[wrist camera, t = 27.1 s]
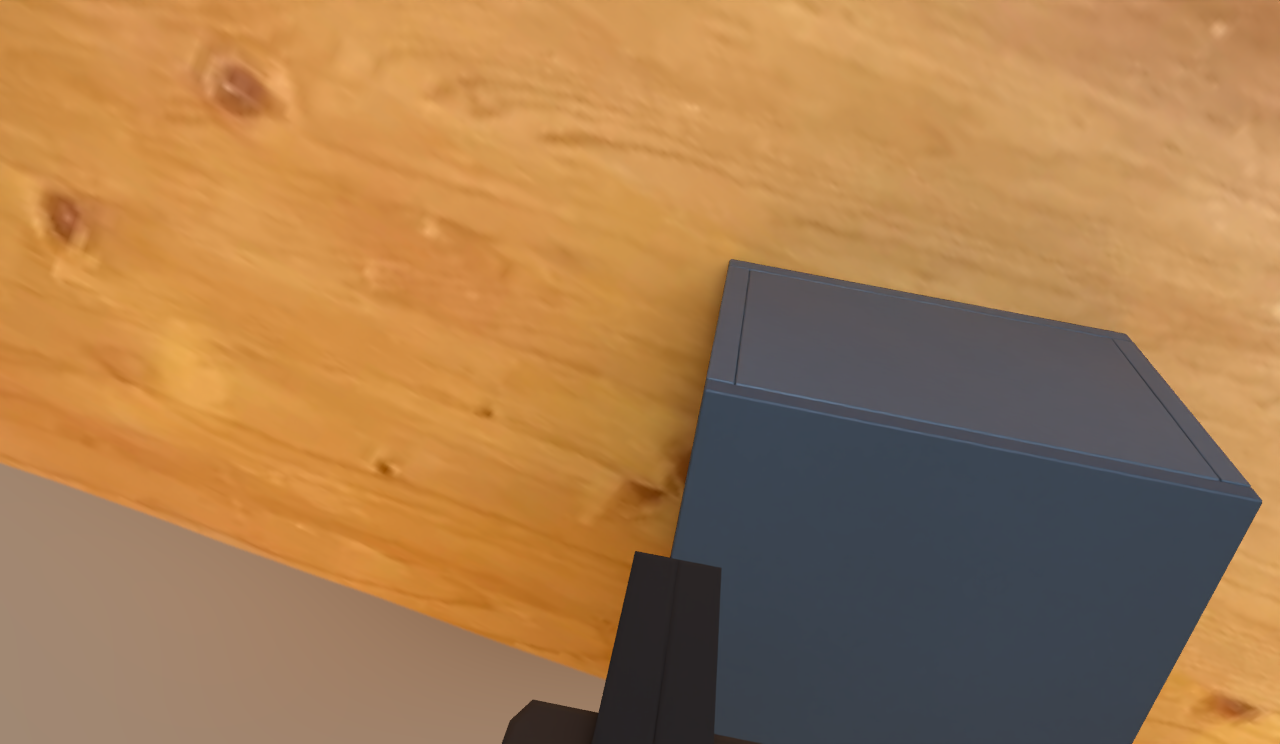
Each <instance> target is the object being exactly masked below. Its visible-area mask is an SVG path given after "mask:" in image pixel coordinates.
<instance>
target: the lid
mask: <svg viewBox="0 0 1280 744" xmlns="http://www.w3.org/2000/svg"><path fill="white" fill-rule="evenodd" d="M1261 504H1262V500H1261V498H1260V497H1259V496H1258V495H1257V494H1256V492H1255V491H1254V490H1253V489H1252V488H1250V487H1245V486H1240V485H1235V484H1230V483H1225V482H1220V481H1215V480H1210V479H1205V478H1200V477H1195V476H1190V475H1185V474H1180V473H1175V472H1170V471H1165V470H1160V469H1155V468H1150V467H1145V466H1140V465H1135V464H1130V463H1124V462H1119V461H1114V460H1109V459H1104V458H1099V457H1094V456H1089V455H1084V454H1079V453H1074V452H1069V451H1064V450H1059V449H1054V448H1049V447H1044V446H1039V445H1034V444H1029V443H1024V442H1019V441H1014V440H1009V439H1004V438H999V437H994V436H989V435H984V434H979V433H974V432H969V431H964V430H959V429H954V428H949V427H944V426H939V425H934V424H929V423H924V422H919V421H914V420H909V419H904V418H899V417H894V416H889V415H884V414H879V413H874V412H869V411H864V410H859V409H854V408H848V407H843V406H838V405H833V404H828V403H823V402H818V401H813V400H808V399H803V398H798V397H793V396H788V395H783V394H778V393H773V392H768V391H763V390H758V389H753V388H748V387H743V386H738V385H733V384H728V383H723V382H718V381H713V380H707V381H706V382H705V387H704V392H703V397H702V402H701V407H700V412H699V417H698V422H697V427H696V432H695V437H694V442H693V447H692V452H691V457H690V462H689V467H688V472H687V477H686V482H685V487H684V492H683V497H682V502H681V507H680V512H679V517H678V522H677V527H676V532H675V537H674V542H673V547H672V552H671V557H670V558H674V559H679V560H684V561H689V562H694V563H700V564H705V565H710V566H715V567H720V568H722V569H721V592H720V614H719V636H718V658H717V680H716V702H715V724H714V734H717V735H722V736H727V737H732V738H737V739H742V740H747V741H752V742H757V743H762V744H1132V743H1133V741H1134V739H1135V737H1136V735H1137V734H1138V732H1139V730H1140V728H1141V726H1142V724H1143V722H1144V721H1145V719H1146V717H1147V715H1148V713H1149V711H1150V709H1151V708H1152V706H1153V704H1154V702H1155V700H1156V698H1157V697H1158V695H1159V693H1160V691H1161V689H1162V687H1163V685H1164V684H1165V682H1166V680H1167V678H1168V676H1169V674H1170V672H1171V671H1172V669H1173V667H1174V665H1175V663H1176V661H1177V660H1178V658H1179V656H1180V654H1181V652H1182V650H1183V648H1184V647H1185V645H1186V643H1187V641H1188V639H1189V637H1190V635H1191V634H1192V632H1193V630H1194V628H1195V626H1196V624H1197V623H1198V621H1199V619H1200V617H1201V615H1202V613H1203V611H1204V610H1205V608H1206V606H1207V604H1208V602H1209V600H1210V598H1211V597H1212V595H1213V593H1214V591H1215V589H1216V587H1217V585H1218V584H1219V582H1220V580H1221V578H1222V576H1223V574H1224V573H1225V571H1226V569H1227V567H1228V565H1229V563H1230V561H1231V560H1232V558H1233V556H1234V554H1235V552H1236V550H1237V548H1238V547H1239V545H1240V543H1241V541H1242V539H1243V537H1244V536H1245V534H1246V532H1247V530H1248V528H1249V526H1250V524H1251V523H1252V521H1253V519H1254V517H1255V515H1256V513H1257V511H1258V510H1259V508H1260V506H1261Z"/></svg>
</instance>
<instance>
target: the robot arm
mask: <svg viewBox="0 0 1280 744" xmlns="http://www.w3.org/2000/svg"><path fill="white" fill-rule="evenodd" d="M721 569H722V568H720V567H715V566H710V565H705V564H700V563H694V562H689V561H684V560H679V559H674V558H668V557H663V556H658V555H653V554H648V553H642V552H637V551H635V555H634V559H633V563H632V568H631V572H630V577H629V581H628V585H627V590H626V594H625V599H624V603H623V608H622V612H621V616H620V621H619V625H618V630H617V634H616V638H615V643H614V647H613V652H612V656H611V661H610V665H609V669H608V674H607V678H606V683H605V687H604V691H603V696H602V700H601V705H600V709H599V713H596V712H591V711H586V710H582V709H577V708H571V707H567V706H561V705H557V704H551V703H547V702H542V701H537V700H532V701H531V702H530V703H529V704H528V705H526V706H525V707H524V708H523V709H522V710H521V711H520V712H519V713H518V714H517V715H516V716H515V717H513V718H512V719H511V720H510V722H509V725H508V728H507V731H506V733H505V736H504V739H503V742H502V744H762V743H757V742H752V741H747V740H742V739H737V738H732V737H727V736H722V735H717V734H714V724H715V702H716V680H717V658H718V636H719V614H720V592H721Z"/></svg>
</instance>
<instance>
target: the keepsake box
mask: <svg viewBox="0 0 1280 744" xmlns="http://www.w3.org/2000/svg"><path fill="white" fill-rule="evenodd" d="M707 380H713V381H718V382H723V383H728V384H733V385H738V386H743V387H748V388H753V389H758V390H763V391H768V392H773V393H778V394H783V395H788V396H793V397H798V398H803V399H808V400H813V401H818V402H823V403H828V404H833V405H838V406H843V407H848V408H854V409H859V410H864V411H869V412H874V413H879V414H884V415H889V416H894V417H899V418H904V419H909V420H914V421H919V422H924V423H929V424H934V425H939V426H944V427H949V428H954V429H959V430H964V431H969V432H974V433H979V434H984V435H989V436H994V437H999V438H1004V439H1009V440H1014V441H1019V442H1024V443H1029V444H1034V445H1039V446H1044V447H1049V448H1054V449H1059V450H1064V451H1069V452H1074V453H1079V454H1084V455H1089V456H1094V457H1099V458H1104V459H1109V460H1114V461H1119V462H1124V463H1130V464H1135V465H1140V466H1145V467H1150V468H1155V469H1160V470H1165V471H1170V472H1175V473H1180V474H1185V475H1190V476H1195V477H1200V478H1205V479H1210V480H1215V481H1220V482H1225V483H1230V484H1235V485H1240V486H1245V487H1251V485H1250V484H1249V483H1248V482H1247V480H1246V479H1245V478H1244V477H1243V476H1242V474H1241V473H1240V472H1239V471H1238V469H1237V468H1236V467H1235V466H1234V465H1233V463H1232V462H1231V461H1230V460H1229V458H1228V457H1227V456H1226V455H1225V454H1224V452H1223V451H1222V450H1221V449H1220V447H1219V446H1218V445H1217V444H1216V443H1215V441H1214V440H1213V439H1212V438H1211V436H1210V435H1209V434H1208V433H1207V432H1206V430H1205V429H1204V428H1203V427H1202V425H1201V424H1200V423H1199V422H1198V421H1197V419H1196V418H1195V417H1194V416H1193V414H1192V413H1191V412H1190V411H1189V410H1188V408H1187V407H1186V406H1185V405H1184V403H1183V402H1182V401H1181V400H1180V399H1179V397H1178V396H1177V395H1176V394H1175V392H1174V391H1173V390H1172V389H1171V388H1170V386H1169V385H1168V384H1167V383H1166V381H1165V380H1164V379H1163V378H1162V377H1161V375H1160V374H1159V373H1158V372H1157V370H1156V369H1155V368H1154V367H1153V366H1152V364H1151V363H1150V362H1149V361H1148V359H1147V358H1146V357H1145V356H1144V355H1143V353H1142V352H1141V351H1140V350H1139V349H1138V347H1137V346H1136V345H1135V344H1134V343H1133V342H1132V341H1131V339H1130V338H1129V337H1128V336H1127V335H1126V334H1123V333H1118V332H1113V331H1107V330H1102V329H1097V328H1092V327H1086V326H1081V325H1076V324H1070V323H1065V322H1060V321H1055V320H1049V319H1044V318H1039V317H1034V316H1028V315H1023V314H1018V313H1012V312H1007V311H1002V310H997V309H991V308H986V307H981V306H976V305H970V304H965V303H960V302H954V301H949V300H944V299H939V298H933V297H928V296H923V295H918V294H912V293H907V292H902V291H896V290H891V289H886V288H881V287H875V286H870V285H865V284H860V283H854V282H849V281H844V280H838V279H833V278H828V277H823V276H817V275H812V274H807V273H802V272H796V271H791V270H786V269H780V268H775V267H770V266H765V265H759V264H754V263H749V262H744V261H738V260H733V259H731V260H730V261H729V266H728V271H727V276H726V281H725V286H724V291H723V296H722V301H721V306H720V311H719V316H718V321H717V326H716V331H715V336H714V341H713V346H712V351H711V356H710V361H709V366H708V371H707V376H706V381H707ZM706 381H705V382H706ZM704 387H705V386H704ZM703 392H704V391H703ZM702 397H703V396H702ZM701 402H702V401H701ZM700 407H701V406H700ZM699 412H700V411H699ZM698 417H699V416H698ZM697 422H698V421H697ZM696 427H697V426H696ZM695 432H696V431H695Z"/></svg>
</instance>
